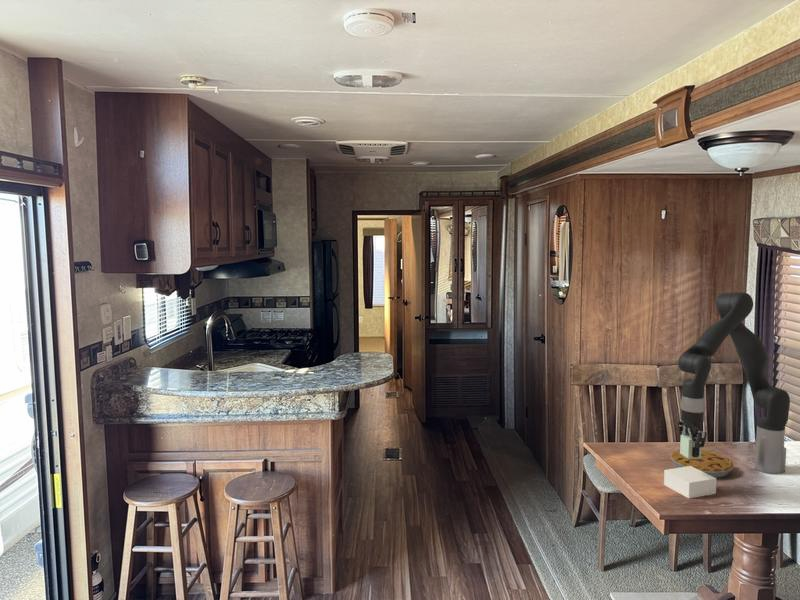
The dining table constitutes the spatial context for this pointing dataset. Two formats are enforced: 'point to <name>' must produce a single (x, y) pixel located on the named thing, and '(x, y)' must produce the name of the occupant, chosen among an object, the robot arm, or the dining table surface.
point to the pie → (705, 463)
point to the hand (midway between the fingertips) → (690, 453)
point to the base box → (690, 481)
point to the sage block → (688, 446)
